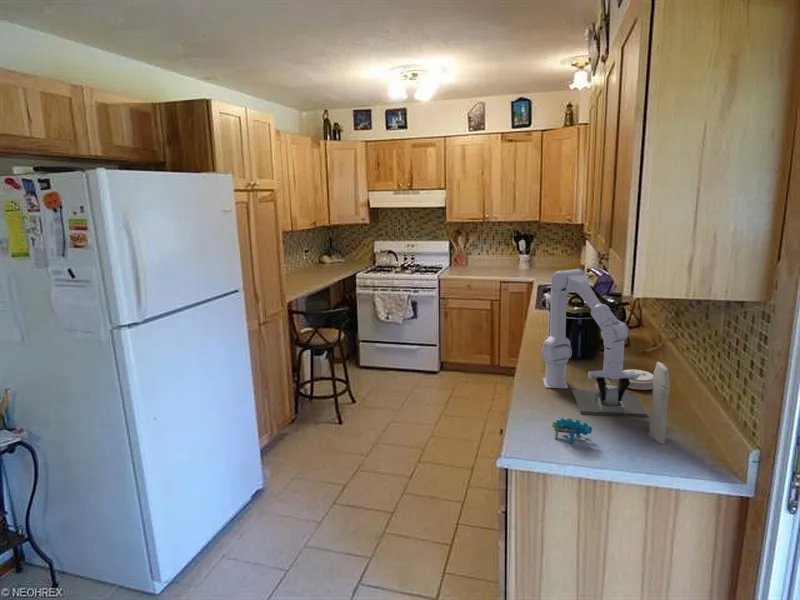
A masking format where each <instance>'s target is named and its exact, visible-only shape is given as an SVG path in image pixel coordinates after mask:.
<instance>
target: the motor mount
mask: <svg viewBox="0 0 800 600" xmlns="http://www.w3.org/2000/svg"><path fill="white" fill-rule="evenodd" d="M595 381H596V380H595ZM605 382H606V385H612V383H611V382H610V379H605ZM594 386H595V388H596V389H595V390H589V389H588V390H585V389H572V395H573V398H574V400H575V403H576V406H577V408H578V411H579V413H580V414H582V415H595V416H599V415H601V416H614V417H615V416H616V417H617V416H618V417H619V416H620V417H634V418H635V417H637V418H639V417H641V418H648V412H647V411H646V410H645V409H644V407H643V406H642V403H641V402H640V401H639V400H638V399H637V397H636V395H635V394H634V392H632V391H629V392H628V391H625V392H624V394H623V397H622V400H621V401H618V406H604V405H603V401H602V399H601V394H600V389H599V386H598V383H597V381H596V382H595V384H594Z"/></svg>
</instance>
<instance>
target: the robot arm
mask: <svg viewBox="0 0 800 600" xmlns="http://www.w3.org/2000/svg"><path fill="white" fill-rule="evenodd" d="M588 281H589V278H588V275H586V273H585V271H584V270H583V269H582V268H575V269H566V270H557V271H556V272H554V273H553V274H552V276H551V287H550V306H549V307H550V309H549V310H550V311H549V312H550V314H549V321H550V322H549V336H547V338H546V339H545V340H544V341H543V344H542V345H543V346H542V348H541V358H542V359H543V360H544V362H545V377H543V378H542V380H543V384H544V388H547V389H566V390H567V389H568V388H569V386H568V384H567V362H569V359H570V358H572V356H573V353H572V352H573V350H572V346H571V340H570V339H569V338H567V335H566V333H567V331H566V329H567V300H568V299H567V295H568V294H569V293H570V292H575V293H577V294H578V295H579V296H580V298H581V299H582V300H583V301H584V302H585V303H586V304H587V306H588V308H590V315H591V317H592V318H593V319H594V321H595V322H596V323H597V325H598V326H599V328H600V330H601V331H600V335H601V338H602V341H603V343H602V344H603V346H604V347H603V348H604V349H603V350H604V351H603V366H602V367H603V368H602V370H590V371H588V372H587V373H588V375H587V377H588V379H589V380H592V379H595V381H597V383H598V386H599V389H600V394H601V399H602V401H604V400H605V386H606V382H605V379H607V380H617V385H618V386H617V387H619V400H618V401H621V400H622V397H623V394H624V392H626V390H627V389H628V386H629V385H630V381H629V380H635V381H637V374H636V373H631V372H623V371H624V354H625V340H627V339H628V337H629V335H630V329H629V327H628V325H627V324H626V323H625V322H623V321H621V320H620V319H618V318H617V317H616V316H615V314H614V313H613V312H612V311H611V308H610V307H609V305H607V304H605V303H601V301H600V300H599V298H598V297H597V295H596V294H595V292H594V290H593V289H592V287H591V286H590V284H589V282H588Z"/></svg>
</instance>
